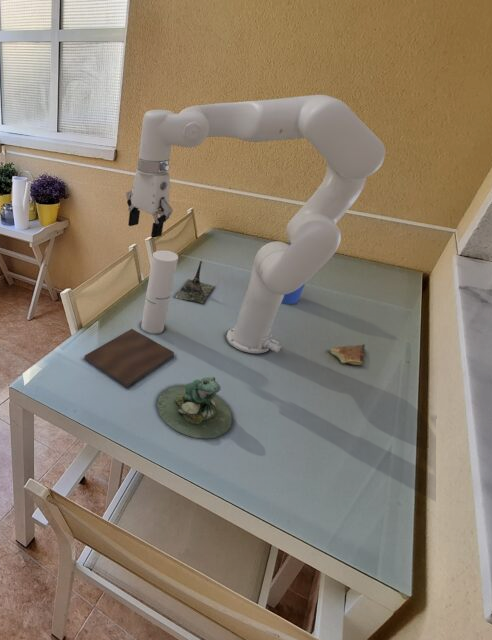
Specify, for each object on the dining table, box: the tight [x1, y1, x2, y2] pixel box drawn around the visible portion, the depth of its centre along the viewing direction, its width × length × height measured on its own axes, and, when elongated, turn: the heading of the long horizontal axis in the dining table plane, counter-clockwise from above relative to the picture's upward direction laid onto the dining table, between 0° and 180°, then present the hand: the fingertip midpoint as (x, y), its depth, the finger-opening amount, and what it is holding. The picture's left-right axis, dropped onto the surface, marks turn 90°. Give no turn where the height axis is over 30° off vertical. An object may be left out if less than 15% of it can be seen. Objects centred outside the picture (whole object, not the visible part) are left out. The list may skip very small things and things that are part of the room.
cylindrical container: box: [140, 250, 179, 334], centre depth 127 cm, size 7×7×25 cm
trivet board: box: [84, 328, 175, 389], centre depth 122 cm, size 16×21×2 cm
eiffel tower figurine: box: [174, 258, 215, 304], centre depth 149 cm, size 15×10×13 cm
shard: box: [330, 344, 366, 366], centre depth 121 cm, size 11×8×2 cm
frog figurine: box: [157, 375, 233, 440], centre depth 101 cm, size 18×18×12 cm
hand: (144, 230), depth 115 cm, fingers open, 9 cm apart
